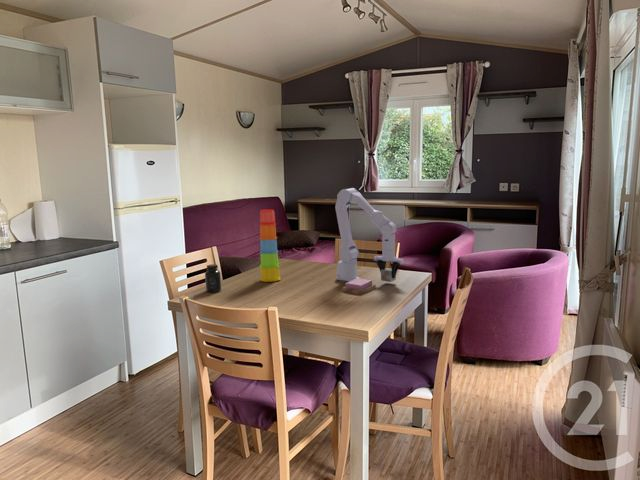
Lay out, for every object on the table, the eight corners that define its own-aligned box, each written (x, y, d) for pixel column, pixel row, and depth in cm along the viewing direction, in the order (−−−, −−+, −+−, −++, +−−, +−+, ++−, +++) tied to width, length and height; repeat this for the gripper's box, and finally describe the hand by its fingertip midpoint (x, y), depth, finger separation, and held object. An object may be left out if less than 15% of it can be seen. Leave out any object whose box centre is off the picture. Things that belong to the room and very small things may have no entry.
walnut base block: (342, 292, 217) (342, 287, 217) (357, 286, 226) (357, 281, 226) (361, 296, 211) (361, 290, 211) (375, 290, 220) (375, 284, 220)
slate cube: (381, 280, 227) (381, 269, 226) (386, 278, 231) (386, 267, 230) (390, 281, 224) (390, 271, 223) (395, 279, 228) (395, 269, 227)
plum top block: (345, 287, 217) (345, 283, 216) (356, 282, 225) (356, 278, 224) (361, 289, 212) (361, 285, 212) (372, 284, 220) (372, 280, 220)
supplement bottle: (224, 289, 224) (222, 264, 222) (216, 293, 218) (214, 267, 216) (211, 288, 226) (209, 263, 224) (203, 292, 220) (201, 266, 218)
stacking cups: (256, 281, 237) (252, 210, 231) (266, 276, 246) (263, 208, 240) (275, 283, 233) (272, 211, 227) (284, 278, 242) (282, 209, 236)
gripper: (370, 248, 226) (370, 276, 228) (398, 251, 217) (398, 281, 219) (378, 245, 231) (378, 273, 234) (405, 248, 223) (405, 277, 225)
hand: (388, 277), depth 227 cm, fingers closed on slate cube, 5 cm apart
